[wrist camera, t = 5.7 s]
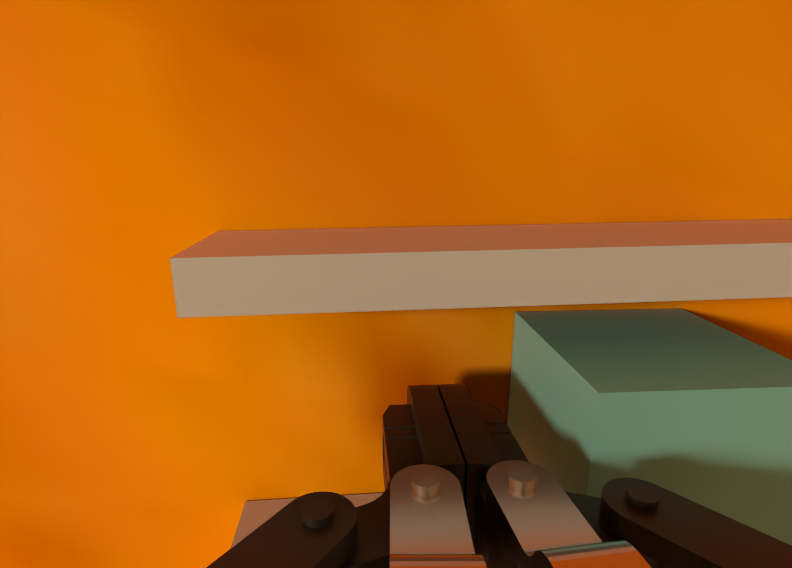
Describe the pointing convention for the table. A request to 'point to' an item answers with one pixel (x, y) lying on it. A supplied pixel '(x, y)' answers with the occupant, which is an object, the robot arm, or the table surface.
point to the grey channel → (475, 273)
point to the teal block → (656, 409)
